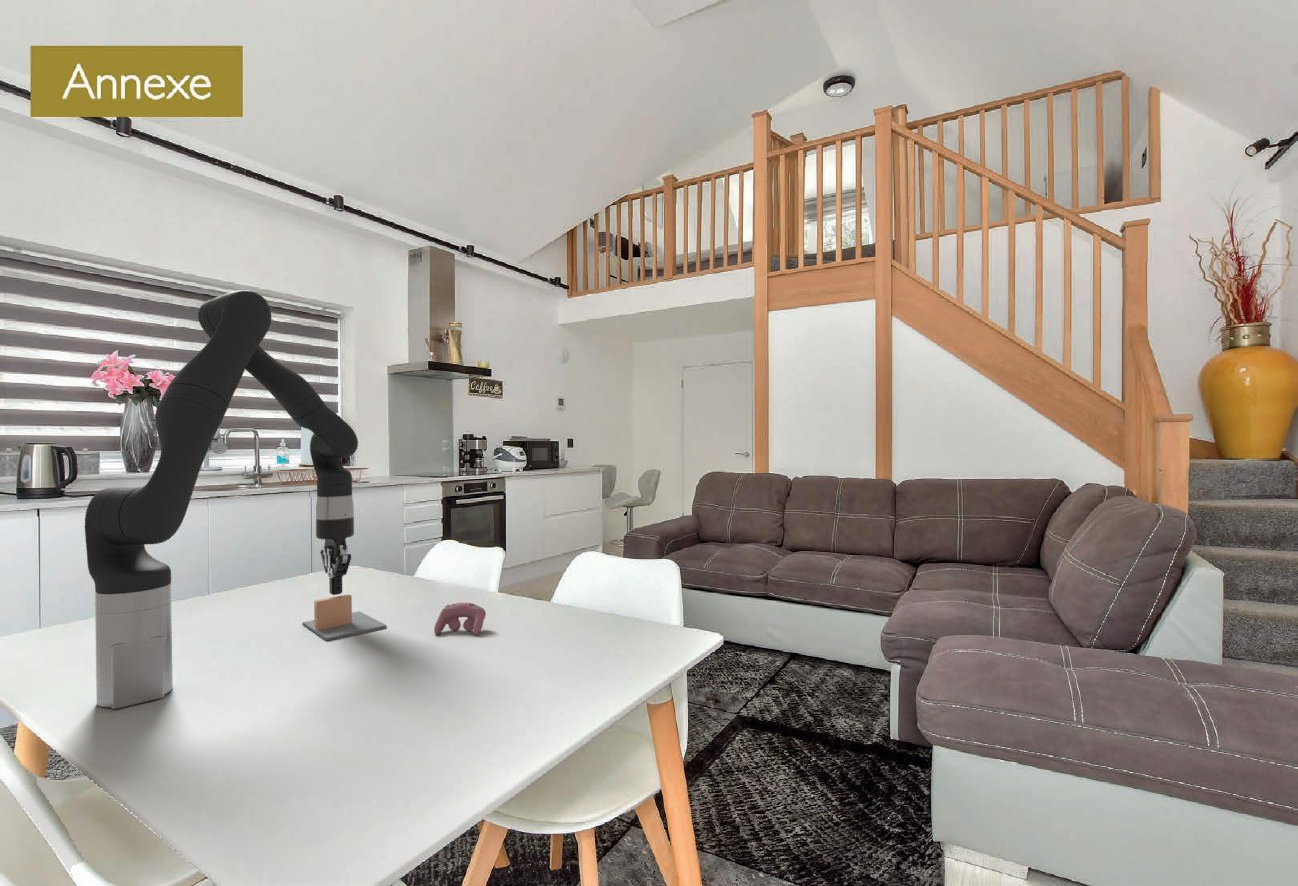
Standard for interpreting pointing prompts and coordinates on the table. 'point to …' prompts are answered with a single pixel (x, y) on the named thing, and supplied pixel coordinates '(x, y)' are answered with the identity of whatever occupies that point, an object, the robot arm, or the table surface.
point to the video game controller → (461, 610)
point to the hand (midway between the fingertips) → (335, 593)
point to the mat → (347, 627)
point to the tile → (332, 612)
